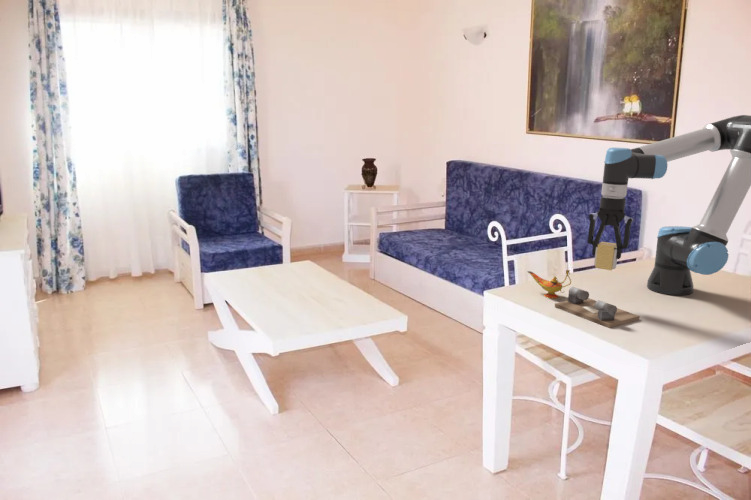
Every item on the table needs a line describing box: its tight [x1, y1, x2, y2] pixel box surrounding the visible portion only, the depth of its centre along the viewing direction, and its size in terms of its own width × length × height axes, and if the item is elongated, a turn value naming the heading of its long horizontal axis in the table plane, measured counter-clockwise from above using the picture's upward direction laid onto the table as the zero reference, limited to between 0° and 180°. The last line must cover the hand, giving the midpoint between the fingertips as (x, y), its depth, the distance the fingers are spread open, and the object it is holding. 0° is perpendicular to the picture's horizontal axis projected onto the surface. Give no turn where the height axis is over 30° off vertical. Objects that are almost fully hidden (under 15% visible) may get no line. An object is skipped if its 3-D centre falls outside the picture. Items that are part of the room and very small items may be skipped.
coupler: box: [594, 241, 617, 271], centre depth 202 cm, size 5×5×8 cm
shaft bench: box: [554, 286, 640, 329], centre depth 199 cm, size 22×14×6 cm, turn 30°
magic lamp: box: [527, 269, 572, 299], centre depth 216 cm, size 7×18×11 cm, turn 40°
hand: (605, 266), depth 203 cm, fingers closed on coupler, 5 cm apart
